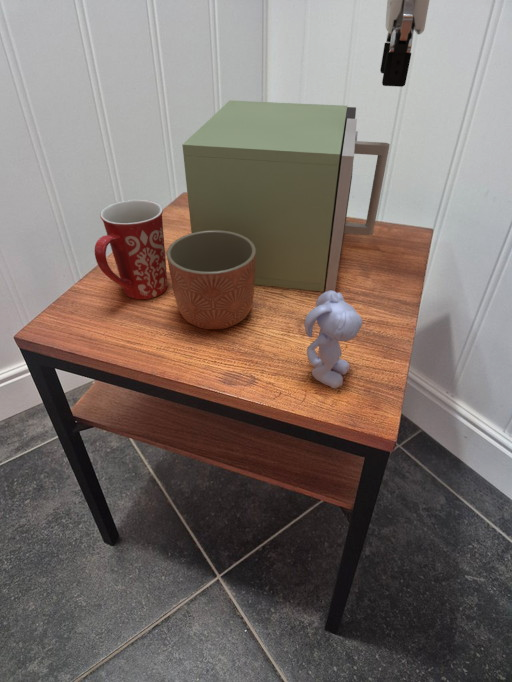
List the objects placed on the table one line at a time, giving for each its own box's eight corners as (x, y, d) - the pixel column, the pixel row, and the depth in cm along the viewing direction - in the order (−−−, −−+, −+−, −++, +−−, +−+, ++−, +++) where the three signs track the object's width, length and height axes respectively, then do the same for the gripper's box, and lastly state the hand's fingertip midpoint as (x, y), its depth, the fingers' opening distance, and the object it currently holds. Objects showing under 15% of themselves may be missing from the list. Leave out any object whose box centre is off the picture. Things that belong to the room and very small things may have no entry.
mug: (143, 268, 78) (129, 194, 69) (184, 282, 75) (174, 206, 66) (90, 303, 70) (66, 224, 61) (133, 321, 66) (114, 240, 58)
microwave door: (370, 240, 86) (392, 120, 72) (370, 296, 71) (399, 158, 57) (332, 237, 87) (347, 118, 73) (325, 291, 72) (341, 155, 58)
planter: (208, 282, 74) (203, 222, 67) (270, 305, 69) (272, 243, 62) (159, 320, 66) (147, 256, 59) (225, 349, 61) (221, 283, 54)
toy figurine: (343, 397, 54) (357, 321, 47) (295, 381, 57) (301, 306, 49) (358, 363, 59) (374, 289, 51) (314, 350, 61) (322, 276, 54)
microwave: (344, 220, 93) (360, 106, 79) (338, 293, 72) (358, 155, 58) (233, 211, 97) (229, 100, 82) (196, 278, 76) (182, 144, 61)
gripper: (462, -84, 48) (422, 92, 59) (441, -73, 61) (412, 70, 72) (392, -83, 49) (366, 90, 60) (386, -73, 62) (366, 68, 73)
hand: (391, 79), depth 66 cm, fingers open, 9 cm apart
